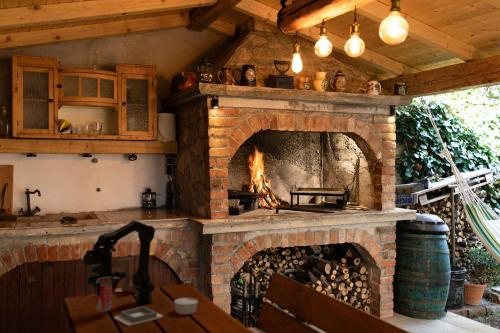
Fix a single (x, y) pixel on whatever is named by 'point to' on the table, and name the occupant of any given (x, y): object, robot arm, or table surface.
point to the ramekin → (185, 305)
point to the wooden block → (128, 278)
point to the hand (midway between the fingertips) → (105, 295)
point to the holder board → (137, 316)
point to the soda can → (104, 297)
